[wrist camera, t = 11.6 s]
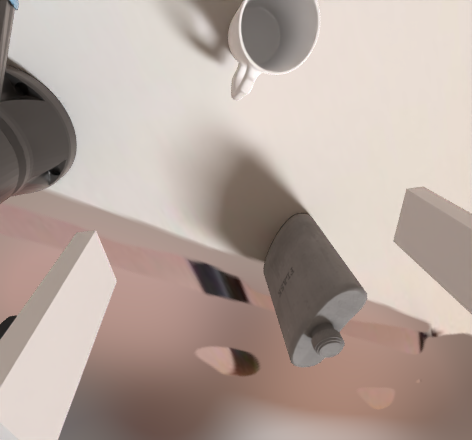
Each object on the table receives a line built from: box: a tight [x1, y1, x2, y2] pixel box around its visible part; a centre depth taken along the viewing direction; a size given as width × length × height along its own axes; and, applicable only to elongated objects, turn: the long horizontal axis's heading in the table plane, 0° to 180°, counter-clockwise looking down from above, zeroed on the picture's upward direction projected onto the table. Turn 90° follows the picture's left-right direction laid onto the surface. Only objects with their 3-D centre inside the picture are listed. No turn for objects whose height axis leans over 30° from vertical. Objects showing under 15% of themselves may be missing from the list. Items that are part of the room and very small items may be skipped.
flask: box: [264, 213, 367, 367], centre depth 40 cm, size 15×6×20 cm, turn 161°
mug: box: [228, 0, 320, 100], centre depth 28 cm, size 10×7×12 cm, turn 151°
